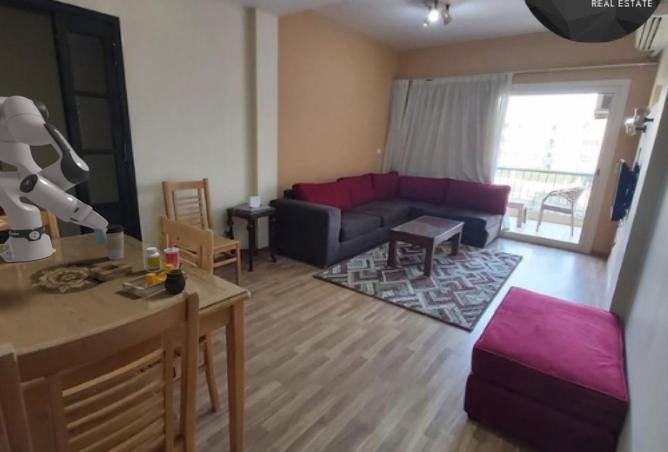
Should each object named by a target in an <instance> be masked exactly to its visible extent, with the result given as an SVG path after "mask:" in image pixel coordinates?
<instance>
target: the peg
mask: <svg viewBox="0 0 668 452" xmlns="http://www.w3.org/2000/svg"><path fill="white" fill-rule="evenodd" d="M93 230H94V231H93V232H94V236H95V242H96V243H95V244H96V245H98V246H99V245H100V246H101V245H105V244H106V243H107V238H106V232H102V231H100V230H99V229H95V228H94V229H93Z"/></svg>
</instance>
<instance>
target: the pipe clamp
mask: <svg viewBox="0 0 668 452" xmlns="http://www.w3.org/2000/svg"><path fill="white" fill-rule="evenodd" d="M164 268H165V269H164V272H162V273H160V274H159V275H158V276H156V274H153V273H152V272H148V273H146V274H147V275H146V274H145V275H146V278H147V283H146V287H147V286H149V285H152V284H154V283H157V282H159V281H162V280H165V279H166V277H167V276H166V272H167V271H169V270H172V269H174V265H172V264H167V265H166V264H165V265H164Z"/></svg>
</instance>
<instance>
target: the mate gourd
mask: <svg viewBox="0 0 668 452" xmlns="http://www.w3.org/2000/svg"><path fill="white" fill-rule="evenodd" d="M182 265H183V263H181V262H179V268H178V269H172V270H169V271H167V272H166V276H167V277H166V280H165V284H164V286H165V291H166V292H167V293H169V294H174V295H175V294H179V293H181V292H183V291H184V290H185V288H186V284H187V283H186V280H185V279H184V277H183V275H182V271H183V270H182V269H181V267H182Z"/></svg>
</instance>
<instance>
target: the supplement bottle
mask: <svg viewBox="0 0 668 452" xmlns="http://www.w3.org/2000/svg"><path fill="white" fill-rule="evenodd" d="M144 257H145V268H146V272H148V273H152V272H154V271H157V270H160V269H161V260H160V253H159V252H158V248H157V247H147V248H146V253H145V254H144Z"/></svg>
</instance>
